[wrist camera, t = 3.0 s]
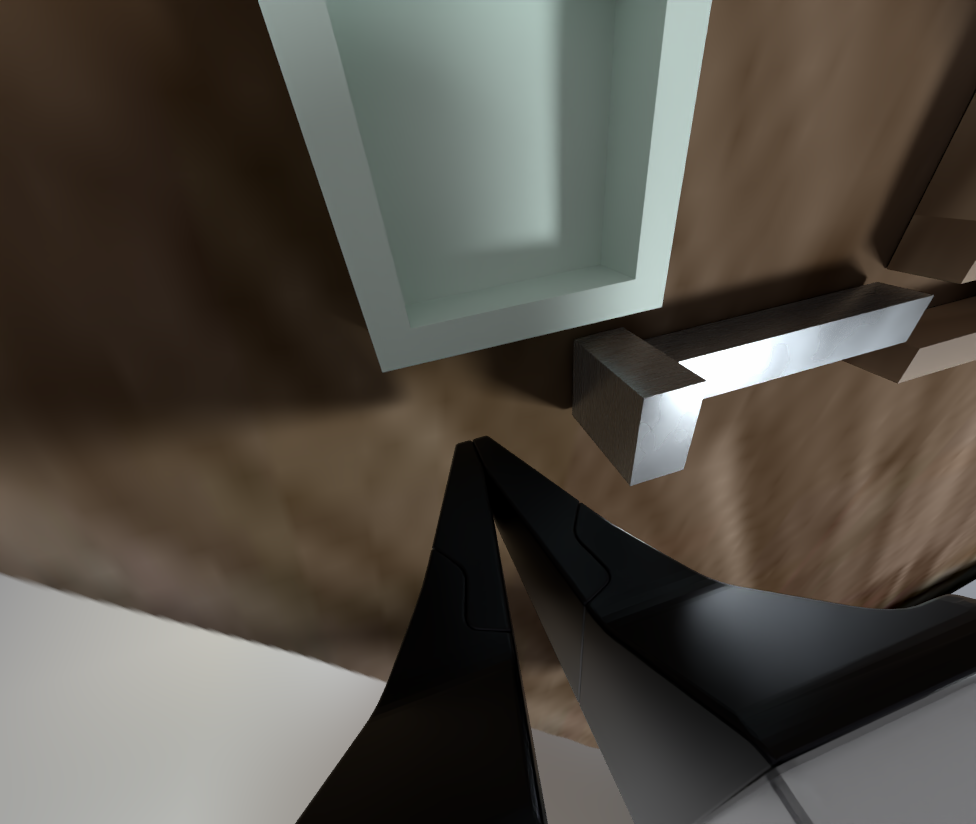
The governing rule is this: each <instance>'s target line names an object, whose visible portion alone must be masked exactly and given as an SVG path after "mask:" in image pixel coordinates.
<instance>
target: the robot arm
mask: <svg viewBox="0 0 976 824" xmlns="http://www.w3.org/2000/svg"><path fill="white" fill-rule="evenodd" d="M493 518H494V519H493ZM494 521H495V523H496V526H497V528H498V530H499V532H500V534H501V537H502V539H503V541H504V543H505V545H506V547H507V550H508V552H509V554H510V556H511V558H512V560H513V562H514V565H515V567H516V569H517V571H518V573H519V575H520V578H521V580H522V582H523V584H524V586H525V588H526V590H527V593H528V595H529V597H530V599H531V601H532V603H533V606H534V608H535V610H536V612H537V614H538V616H539V619H540V621H541V623H542V625H543V627H544V629H545V631H546V634H547V636H548V638H549V640H550V642H551V644H552V647H553V649H554V651H555V653H556V655H557V657H558V659H559V662H560V664H561V666H562V668H563V670H564V672H565V675H566V677H567V679H568V681H569V683H570V685H571V687H572V690H573V692H574V694H575V696H576V698H577V700H578V702H579V703H580V707H581V709H582V711H583V714H584V716H585V718H586V720H587V722H588V724H589V726H590V729H591V731H592V733H593V735H594V737H595V739H596V742H597V744H598V746H599V748H600V750H601V752H602V754H603V757H604V759H605V761H606V763H607V765H608V767H609V770H610V772H611V774H612V776H613V778H614V780H615V782H616V785H617V787H618V789H619V791H620V793H621V795H622V797H623V800H624V802H625V804H626V806H627V808H628V810H629V812H630V815H631V817H632V819H633V821H634V823H635V824H976V599H972V598H968V597H964V596H960V595H953V594H948V595H943V596H940V597H938V598H935V599H932V600H930V601H927V602H925V603H922V604H920V605H918V606H914V607H910V608H904V609H870V608H863V607H855V606H849V605H843V604H837V603H832V602H826V601H820V600H814V599H809V598H803V597H797V596H791V595H786V594H780V593H774V592H768V591H763V590H757V589H751V588H745V587H740V586H734V585H730V584H726V583H723V582H719V581H717V580H714V579H711V578H709V577H706V576H704V575H702V574H700V573H698V572H696V571H694V570H692V569H690V568H688V567H686V566H685V565H683V564H681V563H679V562H678V561H676V560H674V559H672V558H671V557H669V556H667V555H665V554H663V553H662V552H660V551H658V550H656V549H655V548H653V547H651V546H649V545H648V544H646V543H644V542H642V541H640V540H639V539H637V538H635V537H633V536H632V535H630V534H628V533H627V532H625V531H623V530H622V529H620V528H618V527H617V526H615V525H613V524H612V523H610V522H609V521H607V520H606V519H604V518H603V517H601V516H600V515H598V514H597V513H595V512H594V511H592V510H591V509H590V508H588V507H587V506H586V505H584V504H583V503H580V504H579V501H578V500H577V499H576V498H574V497H573V496H571V495H570V494H569V493H567V492H566V491H564V490H563V489H562V488H560V487H559V486H557V485H556V484H555V483H553V482H552V481H550V480H549V479H548V478H546V477H545V476H543V475H542V474H541V473H539V472H538V471H536V470H535V469H534V468H532V467H531V466H529V465H528V464H527V463H525V462H524V461H522V460H521V459H520V458H518V457H517V456H515V455H514V454H512V453H511V452H510V451H508V450H507V449H505V448H504V447H503V446H501V445H500V444H498V443H497V442H496V441H494V440H493V439H491V438H490V437H489V436H483V437H480V438H476V439H474V440H473V442H472V441H470V440H469V441H465V442H461V443H458V444H457V445H456V447H455V451H454V455H453V459H452V464H451V468H450V472H449V477H448V481H447V485H446V490H445V494H444V498H443V503H442V507H441V511H440V516H439V520H438V524H437V529H436V533H435V537H434V542H433V546H432V548H433V549H432V550H431V554H430V558H429V562H428V567H427V570H426V574H425V578H424V581H423V585H422V588H421V591H420V594H419V597H418V600H417V603H416V606H415V609H414V612H413V615H412V617H411V620H410V623H409V625H408V628H407V631H406V634H405V636H404V639H403V642H402V644H401V647H400V650H399V652H398V655H397V658H396V660H395V663H394V666H393V669H392V671H391V674H390V677H389V679H388V682H387V684H386V687H385V689H384V692H383V693H382V696H381V698H380V700H379V702H378V704H377V706H376V708H375V710H374V712H373V713H372V715H371V717H370V718H369V720H368V721H367V723H366V724H365V726H364V728H363V729H362V730H361V732H360V733H359V734H358V736H357V737H356V739H355V740H354V741H353V743H352V744H351V746H350V747H349V748H348V750H347V751H346V753H345V754H344V756H343V757H342V758H341V760H340V761H339V763H338V764H337V765H336V767H335V768H334V770H333V771H332V772H331V774H330V775H329V777H328V778H327V779H326V781H325V782H324V784H323V785H322V786H321V788H320V789H319V791H318V792H317V794H316V795H315V796H314V798H313V799H312V801H311V802H310V803H309V805H308V806H307V808H306V809H305V811H304V812H303V813H302V815H301V816H300V817H299V819H298V820H297V822H296V823H295V824H548V821H547V816H546V810H545V804H544V799H543V793H542V788H541V782H540V776H539V771H538V765H537V760H536V754H535V748H534V743H533V737H532V732H531V726H530V721H529V715H528V709H527V703H526V698H525V692H524V687H523V681H522V675H521V670H520V664H519V659H518V653H517V647H516V642H515V636H514V631H513V625H512V619H511V614H510V608H509V602H508V597H507V591H506V586H505V580H504V574H503V569H502V563H501V558H500V552H499V546H498V541H497V535H496V530H495V524H494Z"/></svg>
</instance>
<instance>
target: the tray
mask: <svg viewBox="0 0 976 824" xmlns="http://www.w3.org/2000/svg"><path fill="white" fill-rule="evenodd" d="M258 2H259V5H260V8H261V11H262V14H263V17H264V20H265V23H266V26H267V29H268V32H269V35H270V38H271V41H272V44H273V47H274V50H275V53H276V56H277V59H278V62H279V65H280V68H281V71H282V74H283V77H284V80H285V83H286V86H287V89H288V92H289V95H290V98H291V101H292V104H293V107H294V110H295V113H296V116H297V119H298V122H299V125H300V128H301V131H302V134H303V137H304V140H305V143H306V146H307V149H308V152H309V155H310V158H311V161H312V164H313V166H314V169H315V172H316V175H317V178H318V181H319V184H320V187H321V190H322V193H323V196H324V199H325V202H326V205H327V208H328V211H329V214H330V217H331V220H332V223H333V226H334V229H335V232H336V235H337V238H338V241H339V244H340V247H341V250H342V253H343V256H344V259H345V262H346V265H347V268H348V271H349V274H350V277H351V280H352V283H353V286H354V289H355V292H356V295H357V298H358V301H359V304H360V307H361V310H362V313H363V316H364V319H365V322H366V325H367V328H368V331H369V334H370V337H371V340H372V343H373V346H374V349H375V352H376V355H377V358H378V361H379V364H380V367H381V370H382V373H383V372H387V371H392V370H396V369H400V368H404V367H409V366H413V365H417V364H421V363H426V362H430V361H434V360H438V359H443V358H447V357H451V356H456V355H460V354H464V353H468V352H473V351H477V350H481V349H485V348H490V347H494V346H498V345H502V344H507V343H511V342H515V341H519V340H524V339H528V338H532V337H536V336H541V335H545V334H549V333H553V332H558V331H562V330H566V329H571V328H575V327H579V326H583V325H588V324H592V323H596V322H600V321H605V320H609V319H613V318H617V317H622V316H626V315H630V314H634V313H639V312H643V311H647V310H651V309H656V308H660V307H662V303H663V297H664V291H665V285H666V279H667V273H668V267H669V260H670V254H671V248H672V242H673V236H674V230H675V224H676V218H677V211H678V205H679V199H680V193H681V187H682V181H683V175H684V169H685V162H686V156H687V150H688V144H689V138H690V132H691V126H692V120H693V113H694V107H695V101H696V95H697V89H698V83H699V77H700V71H701V64H702V58H703V52H704V46H705V40H706V34H707V28H708V22H709V15H710V9H711V3H712V0H258Z"/></svg>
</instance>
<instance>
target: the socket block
mask: <svg viewBox="0 0 976 824" xmlns="http://www.w3.org/2000/svg"><path fill="white" fill-rule="evenodd" d="M887 269H889V270H894V271H899V272H904V273H909V274H914V275H919V276H924V277H929V278H934V279H938V280H943V281H948V282H953V283H958V284H963V283H967V282H970V281H974V280H976V93H975V95H974V97H973V99H972V101H971V103H970V105H969V107H968V109H967V111H966V113H965V114H964V116H963V118H962V120H961V122H960V124H959V126H958V128H957V130H956V132H955V134H954V136H953V138H952V140H951V142H950V144H949V146H948V148H947V150H946V152H945V154H944V156H943V158H942V160H941V162H940V164H939V166H938V168H937V170H936V172H935V174H934V176H933V178H932V180H931V182H930V184H929V186H928V188H927V190H926V192H925V194H924V196H923V198H922V200H921V202H920V204H919V206H918V208H917V210H916V212H915V214H914V216H913V218H912V220H911V222H910V224H909V226H908V228H907V230H906V232H905V234H904V236H903V238H902V240H901V242H900V244H899V246H898V248H897V250H896V252H895V254H894V256H893V258H892V260H891V262H890V264H889V266H888V267H887ZM974 360H976V296H974V297H970V298H967V299H963V300H959V301H955V302H952V303H948V304H944V305H940V306H937V307H933V308H929V309H926V310H925V311H924V313H923V315H922V316H921V318H920V320H919V321H918V323H917V325H916V326H915V328H914V330H913V331H912V333H911V335H910V336H909V338H908V339H907V341H906V342H903V343H900V344H896V345H893V346H889V347H886V348H882V349H879V350H875V351H871V352H868V353H864V354H861V355H857V356H854V357H850V358H847V359H843V360H842V361H845V362H847V363H850V364H852V365H854V366H857V367H859V368H862V369H864V370H866V371H869V372H871V373H874V374H876V375H879V376H881V377H883V378H886V379H888V380H891V381H893V382H896V383H901V382H904V381H908V380H911V379H914V378H917V377H921V376H924V375H927V374H931V373H934V372H937V371H941V370H944V369H947V368H951V367H954V366H957V365H961V364H964V363H967V362H971V361H974Z"/></svg>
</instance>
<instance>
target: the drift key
mask: <svg viewBox="0 0 976 824" xmlns="http://www.w3.org/2000/svg"><path fill="white" fill-rule="evenodd" d="M933 296H934V295H932V294H927V293H923V292H919V291H914V290H910V289H906V288H901V287H897V286H893V285H888V284H884V283H880V282H875V283H871V284H867V285H863V286H859V287H855V288H851V289H847V290H843V291H839V292H835V293H831V294H827V295H823V296H819V297H815V298H811V299H807V300H803V301H799V302H795V303H791V304H786V305H782V306H778V307H774V308H770V309H766V310H762V311H758V312H754V313H750V314H746V315H742V316H738V317H734V318H730V319H726V320H722V321H718V322H714V323H710V324H706V325H702V326H698V327H694V328H690V329H686V330H681V331H677V332H673V333H669V334H665V335H661V336H657V337H653V338H649V339H645V340H642V339H641V338H639V337H638V336H636V335H634V334H633V333H631V332H630V331H628V330H627V329H625V328H623V327H622V328H618V329H614V330H609V331H605V332H601V333H597V334H593V335H589V336H584V337H580V338H576V339H574V354H573V408H572V415H573V417H574V418H575V419H576V420H577V421H578V423H579V424H580V425H581V426H582V428H583V429H584V430H585V431H586V432H587V434H588V435H589V436H590V437H591V439H592V440H593V441H594V442H595V443H596V445H597V446H598V447H599V448H600V450H601V451H602V452H603V453H604V454H605V456H606V457H607V458H608V459H609V461H610V462H611V463H612V464H613V465H614V467H615V468H616V469H617V470H618V472H619V473H620V474H621V475H622V477H623V478H624V479H625V480H626V481H627V483H628V484H629V485H630V486H631V485H635V484H638V483H641V482H644V481H648V480H651V479H654V478H657V477H660V476H664V475H667V474H670V473H673V472H676V471H680V470H683V469H684V465H685V462H686V458H687V454H688V451H689V447H690V443H691V440H692V436H693V432H694V429H695V425H696V421H697V418H698V414H699V410H700V407H701V403H702V399H705V398H708V397H712V396H715V395H719V394H722V393H726V392H729V391H733V390H737V389H740V388H744V387H747V386H751V385H754V384H758V383H761V382H765V381H768V380H772V379H776V378H779V377H783V376H786V375H790V374H793V373H797V372H800V371H804V370H808V369H811V368H815V367H818V366H822V365H825V364H829V363H832V362H836V361H839V360H843V359H847V358H850V357H854V356H857V355H861V354H864V353H868V352H871V351H875V350H879V349H882V348H886V347H889V346H893V345H896V344H900V343H903V342H906V341H907V339H908V338H909V336H910V335H911V333H912V331H913V330H914V328H915V326H916V325H917V323H918V321H919V320H920V318H921V316H922V315H923V313H924V311H925V310H926V308H927V306H928V305H929V303H930V301H931V300H932V298H933Z"/></svg>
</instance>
